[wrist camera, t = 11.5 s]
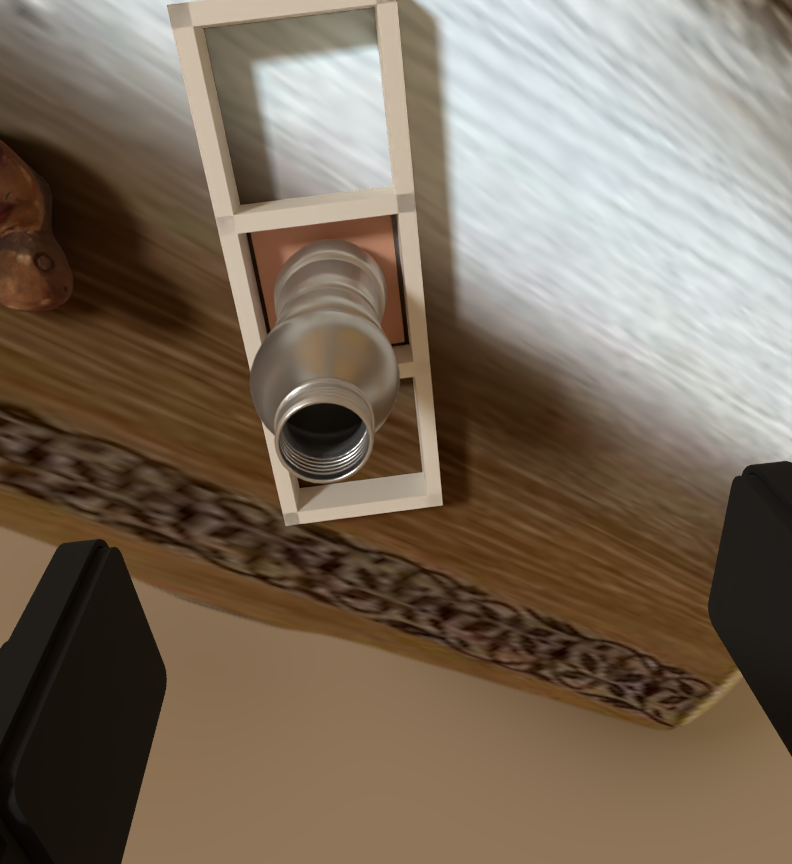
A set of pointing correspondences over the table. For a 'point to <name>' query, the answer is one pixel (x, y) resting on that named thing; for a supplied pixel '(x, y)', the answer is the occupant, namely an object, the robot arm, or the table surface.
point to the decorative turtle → (29, 240)
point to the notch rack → (312, 221)
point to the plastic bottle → (326, 362)
